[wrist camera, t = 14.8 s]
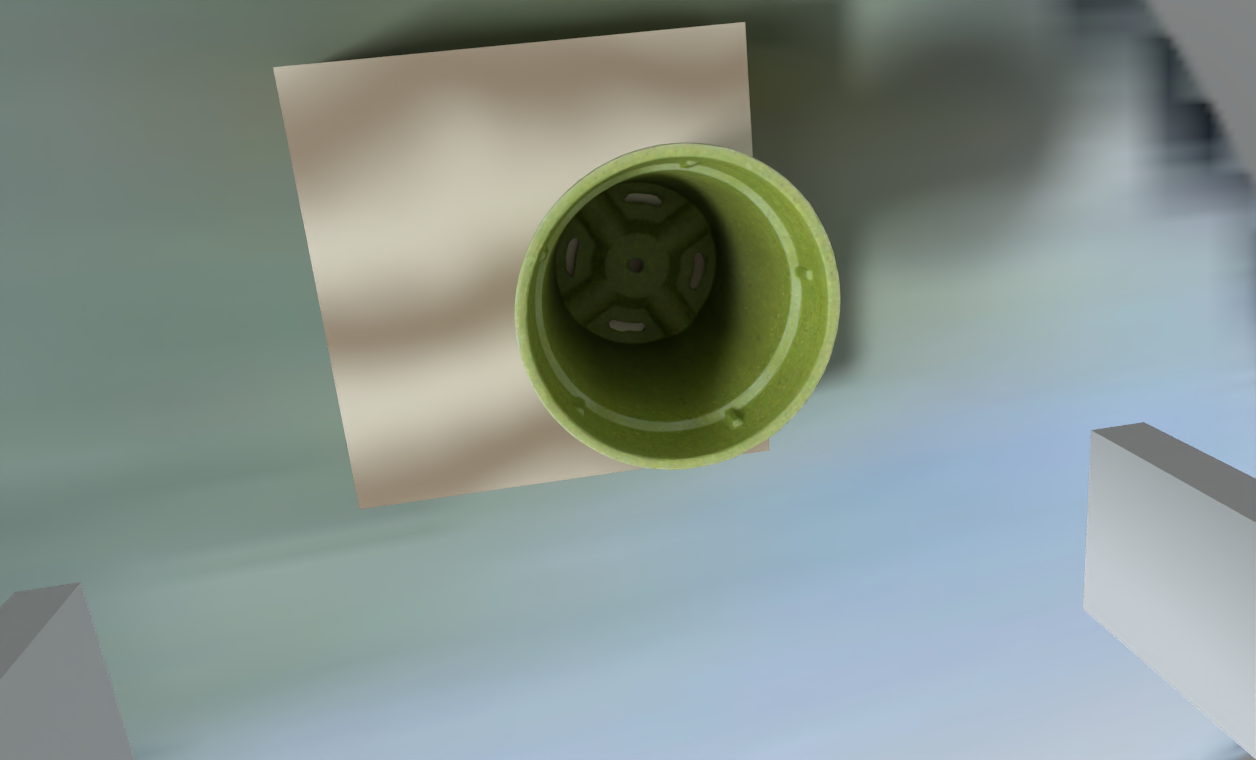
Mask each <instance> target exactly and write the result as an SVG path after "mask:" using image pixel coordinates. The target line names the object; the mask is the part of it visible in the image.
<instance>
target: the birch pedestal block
mask: <svg viewBox="0 0 1256 760" xmlns="http://www.w3.org/2000/svg"><path fill="white" fill-rule="evenodd" d="M273 69H274V74H275V79H276V84H277V89H278V94H279V99H280V105H281V110H282V115H283V120H284V125H285V130H286V135H287V140H288V145H289V150H290V156H291V161H292V166H293V171H294V176H295V181H296V186H297V191H298V196H299V202H300V207H301V212H302V217H303V222H304V227H305V232H306V237H307V242H308V248H309V253H310V258H311V263H312V268H313V273H314V278H315V283H316V288H317V294H318V299H319V304H320V309H321V314H322V319H323V324H324V329H325V334H326V340H327V345H328V350H329V355H330V360H331V365H332V370H333V375H334V380H335V386H336V391H337V396H338V401H339V406H340V411H341V416H342V421H343V426H344V432H345V437H346V442H347V447H348V452H349V457H350V462H351V467H352V472H353V477H354V483H355V488H356V493H357V498H358V503H359V508H360V509H364V508H371V507H378V506H385V505H392V504H399V503H405V502H412V501H419V500H426V499H433V498H440V497H447V496H454V495H461V494H468V493H475V492H482V491H489V490H496V489H503V488H510V487H517V486H524V485H531V484H538V483H545V482H552V481H559V480H566V479H573V478H580V477H587V476H594V475H600V474H607V473H614V472H621V471H628V470H635V469H642V468H644V467H638V466H634V465H630V464H626V463H623V462H619V461H617V460H614V459H612V458H609V457H607V456H605V455H603V454H601V453H599V452H597V451H595V450H593V449H591V448H590V447H588V446H586V445H585V444H583V443H582V442H581V441H579V440H578V439H576V438H575V437H573V436H572V435H571V434H570V433H569V432H567V431H566V430H565V429H564V428H563V427H562V426H561V425H560V424H559V423H558V422H557V421H556V420H555V419H554V417H553V416H552V415H551V414H550V413H549V412H548V410H547V409H546V408H545V406H544V405H543V403H542V402H541V401H540V399H539V398H538V396H537V394H536V392H535V390H534V389H533V387H532V385H531V383H530V381H529V378H528V376H527V373H526V371H525V368H524V365H523V362H522V359H521V356H520V352H519V348H518V343H517V337H516V330H515V297H516V288H517V283H518V277H519V273H520V269H521V266H522V262H523V259H524V256H525V253H526V251H527V248H528V246H529V244H530V242H531V240H532V238H533V235H534V234H535V232H536V230H537V228H538V226H539V225H540V223H541V221H542V220H543V219H544V217H545V216H546V214H547V213H548V212H549V210H550V209H551V208H552V206H553V205H554V204H555V203H556V202H557V201H558V200H559V198H560V197H561V196H562V195H563V194H564V193H565V192H566V191H567V190H568V189H569V188H571V187H572V186H573V185H574V184H575V183H576V182H577V181H579V180H580V179H581V178H583V177H584V176H586V175H587V174H588V173H590V172H591V171H593V170H594V169H596V168H597V167H599V166H601V165H603V164H605V163H606V162H608V161H611V160H613V159H615V158H617V157H619V156H621V155H624V154H627V153H629V152H632V151H635V150H639V149H642V148H646V147H651V146H655V145H661V144H669V143H703V144H711V145H717V146H722V147H726V148H730V149H733V150H736V151H739V152H742V153H745V154H747V155H749V156H752V157H753V151H752V134H751V116H750V99H749V81H748V64H747V46H746V29H745V22H740V23H729V24H719V25H708V26H698V27H688V28H677V29H667V30H657V31H646V32H636V33H625V34H615V35H605V36H594V37H584V38H574V39H563V40H553V41H543V42H532V43H522V44H511V45H501V46H491V47H480V48H470V49H460V50H449V51H439V52H428V53H418V54H408V55H397V56H387V57H377V58H366V59H356V60H346V61H335V62H325V63H314V64H304V65H294V66H283V67H273ZM625 202H637V203H646V204H651V205H656V206H660V205H661V200H660V199H659V198H658V197H657V196H654V195H651V194H640V193H639V194H629V195H628V196H627V197H626V198H625ZM578 246H579V240H578V239H572V240H571V241H570V243H569V244H568V249H567V254H566V263H567V270H568V272H569V273H570V274H571V276H573V275H574V273H575V272H574V269H575V258H576V254H577V249H578ZM694 262H695V264H694V271H693V275H692V278H691V282H690V288H691V289H695V288H697V287H698V285H699V283H700V281H701V279H702V274H703V269H704V259H703V256H702V255H701V253H699V252H698V253H696V254H695V257H694ZM629 267H630V269H631V270H632V271H636V272H640V271H641V270H642V269H643V267H644V264H643V261H641V260H639V259H633V260H632V261H631V262H630V263H629ZM609 324H610V327H611V328H613V329H615V330H618V331H628V330H631V331H642V330H643V328H644V327H645V325H644V323H627V322H623V321H617V320H613V319H612V320H611V321H610V322H609ZM768 450H770V448H769V438H768V439H767V440H765V441H764V442H762V443H760V444H759V445H757V446H756V447H754V448H752V449H750V450H748V451H746V452H744V453H742V454H747V453H754V452H761V451H768Z"/></svg>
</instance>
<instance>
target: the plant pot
mask: <svg viewBox="0 0 1256 760" xmlns="http://www.w3.org/2000/svg"><path fill="white" fill-rule="evenodd" d="M639 193H640V194H651V195H654V196H657V197H658V198H659V199H660V200H661V205H660V206H656V205H651V204H646V203H637V202H625V198H626V197H627V196H628V195H629V194H639ZM572 239H578V240H579V246H578V249H577V254H576V258H575V269H574V272H575V273H574V275H573V276H571V274H570V273H569V272H568V270H567V263H566V254H567V249H568V244H569V243H570V241H571V240H572ZM698 252H699V253H701V255H702V256H703V259H704V269H703V274H702V279H701V281H700V283H699V285H698V287H697V288H695V289H691V288H690V282H691V278H692V275H693V271H694V264H695V262H694V257H695V254H696V253H698ZM633 259H639V260H641V261H643V264H644V267H643V269H642V270H641V271H640V272H636V271H632V270H631V269H630V267H629V263H630V262H631V261H632V260H633ZM839 317H840V281H839V275H838V269H837V264H836V260H835V255H834V251H833V249H832V246H831V243H830V240H829V238H828V235H827V233H826V231H825V229H824V227H823V225H822V223H821V221H820V220H819V218H818V216H817V214H816V213H815V211H814V210H813V208H812V206H811V205H810V203H809V202H808V201H807V200H806V198H805V197H804V196H803V195H802V194H801V192H800V191H799V190H798V189H797V188H796V187H795V186H794V185H793V184H792V183H791V182H790V181H789V180H788V179H786V178H785V177H784V176H783V175H782V174H780V173H779V172H777V171H776V170H774V169H773V168H771V167H770V166H768V165H767V164H765V163H764V162H762V161H760V160H758V159H756V158H754V157H752V156H749V155H747V154H745V153H742V152H739V151H736V150H733V149H730V148H726V147H722V146H717V145H711V144H703V143H669V144H661V145H655V146H651V147H646V148H642V149H639V150H635V151H632V152H629V153H627V154H624V155H621V156H619V157H617V158H615V159H613V160H611V161H608V162H606V163H605V164H603V165H601V166H599V167H597V168H596V169H594V170H593V171H591V172H590V173H588V174H587V175H586V176H584V177H583V178H581V179H580V180H579V181H577V182H576V183H575V184H574V185H573V186H572V187H571V188H569V189H568V190H567V191H566V192H565V193H564V194H563V195H562V196H561V197H560V198H559V200H558V201H557V202H556V203H555V204H554V205H553V206H552V208H551V209H550V210H549V212H548V213H547V214H546V216H545V217H544V219H543V220H542V221H541V223H540V225H539V226H538V228H537V230H536V232H535V234H534V235H533V238H532V240H531V242H530V244H529V246H528V248H527V251H526V253H525V256H524V259H523V262H522V266H521V269H520V273H519V277H518V283H517V288H516V297H515V330H516V337H517V343H518V348H519V352H520V356H521V359H522V362H523V365H524V368H525V371H526V373H527V376H528V378H529V381H530V383H531V385H532V387H533V389H534V390H535V392H536V394H537V396H538V398H539V399H540V401H541V402H542V403H543V405H544V406H545V408H546V409H547V410H548V412H549V413H550V414H551V415H552V416H553V417H554V419H555V420H556V421H557V422H558V423H559V424H560V425H561V426H562V427H563V428H564V429H565V430H566V431H567V432H569V433H570V434H571V435H572V436H573V437H575V438H576V439H578V440H579V441H581V442H582V443H583V444H585V445H586V446H588V447H590V448H591V449H593V450H595V451H597V452H599V453H601V454H603V455H605V456H607V457H609V458H612V459H614V460H617V461H619V462H623V463H626V464H630V465H634V466H638V467H644V468H655V469H666V470H675V469H689V468H696V467H701V466H708V465H712V464H716V463H720V462H722V461H726V460H729V459H732V458H735V457H737V456H739V455H741V454H742V453H744V452H746V451H748V450H750V449H752V448H754V447H756V446H757V445H759V444H760V443H762V442H764V441H765V440H767V439H768V438H770V437H771V436H773V435H774V434H775V433H776V432H778V431H779V430H780V429H781V428H782V427H783V426H784V425H786V424H787V423H788V422H789V421H790V420H791V419H792V418H793V417H794V416H795V414H796V413H797V412H798V411H799V410H800V409H801V408H802V407H803V406H804V404H805V403H806V402H807V400H808V399H809V397H810V396H811V395H812V393H813V391H814V390H815V388H816V387H817V385H818V383H819V382H820V380H821V378H822V376H823V374H824V372H825V369H826V367H827V365H828V362H829V360H830V357H831V354H832V352H833V348H834V344H835V340H836V336H837V330H838V324H839ZM612 319H613V320H617V321H623V322H627V323H644V325H645V327H644V328H643V330H642V331H631V330H628V331H618V330H615V329H613V328H611V327H610V324H609V322H610V321H611V320H612Z"/></svg>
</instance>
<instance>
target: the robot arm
mask: <svg viewBox="0 0 1256 760" xmlns="http://www.w3.org/2000/svg"><path fill="white" fill-rule="evenodd" d="M1083 609H1084V610H1085V611H1086V612H1087V613H1088V614H1089V615H1091V616H1092V617H1093V618H1094V619H1095V620H1096V621H1097V622H1099V623H1100V624H1101V625H1102V626H1103V627H1104V628H1106V629H1107V630H1108V631H1109V632H1110V633H1111V634H1112V635H1114V636H1115V637H1116V638H1117V639H1118V640H1119V641H1120V642H1122V643H1123V644H1124V645H1125V646H1126V647H1127V648H1129V649H1130V650H1131V651H1132V652H1133V653H1134V654H1135V655H1137V656H1138V657H1139V658H1140V659H1141V660H1142V661H1143V662H1145V663H1146V664H1147V665H1148V666H1149V667H1150V668H1152V669H1153V670H1154V671H1155V672H1156V673H1157V674H1158V675H1160V676H1161V677H1162V678H1163V679H1164V680H1165V681H1166V682H1168V683H1169V684H1170V685H1171V686H1172V687H1173V688H1175V689H1176V690H1177V691H1178V692H1179V693H1180V694H1181V695H1183V696H1184V697H1185V698H1186V699H1187V700H1188V701H1189V702H1191V703H1192V704H1193V705H1194V706H1195V707H1196V708H1198V709H1199V710H1200V711H1201V712H1202V713H1203V714H1204V715H1206V716H1207V717H1208V718H1209V719H1210V720H1211V721H1212V722H1214V723H1215V724H1216V725H1217V726H1218V727H1219V728H1221V729H1222V730H1223V731H1224V732H1225V733H1226V734H1227V735H1229V736H1230V737H1231V738H1232V739H1233V740H1234V741H1235V742H1237V743H1238V744H1239V745H1240V746H1241V747H1242V748H1244V749H1245V750H1246V751H1247V752H1248V753H1249V754H1250V755H1252V756H1253V757H1254V758H1255V759H1256V479H1255V478H1253V477H1251V476H1249V475H1247V474H1245V473H1243V472H1241V471H1239V470H1237V469H1235V468H1233V467H1231V466H1230V465H1228V464H1226V463H1224V462H1222V461H1220V460H1218V459H1216V458H1214V457H1212V456H1210V455H1208V454H1206V453H1204V452H1202V451H1200V450H1198V449H1196V448H1194V447H1192V446H1190V445H1188V444H1186V443H1184V442H1182V441H1180V440H1178V439H1176V438H1174V437H1172V436H1170V435H1168V434H1166V433H1164V432H1162V431H1160V430H1158V429H1156V428H1154V427H1152V426H1150V425H1148V424H1146V423H1144V422H1143V423H1136V424H1130V425H1123V426H1117V427H1110V428H1103V429H1097V430H1091V450H1090V472H1089V493H1088V515H1087V537H1086V559H1085V580H1084V602H1083ZM0 760H134V756H133V753H132V750H131V746H130V743H129V740H128V736H127V733H126V730H125V727H124V723H123V720H122V717H121V713H120V710H119V707H118V703H117V700H116V697H115V693H114V690H113V687H112V683H111V680H110V677H109V674H108V670H107V667H106V664H105V660H104V657H103V654H102V650H101V647H100V644H99V640H98V637H97V634H96V630H95V627H94V624H93V621H92V617H91V614H90V611H89V607H88V604H87V601H86V597H85V594H84V591H83V587H82V584H81V582H79V583H73V584H66V585H59V586H53V587H46V588H40V589H33V590H26V591H20V592H15V593H14V594H13V595H12V596H11V597H10V598H9V599H8V600H7V601H6V602H5V603H4V604H3V605H2V606H1V607H0Z"/></svg>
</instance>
